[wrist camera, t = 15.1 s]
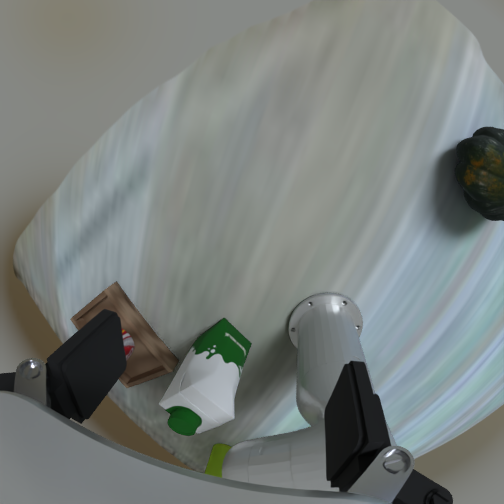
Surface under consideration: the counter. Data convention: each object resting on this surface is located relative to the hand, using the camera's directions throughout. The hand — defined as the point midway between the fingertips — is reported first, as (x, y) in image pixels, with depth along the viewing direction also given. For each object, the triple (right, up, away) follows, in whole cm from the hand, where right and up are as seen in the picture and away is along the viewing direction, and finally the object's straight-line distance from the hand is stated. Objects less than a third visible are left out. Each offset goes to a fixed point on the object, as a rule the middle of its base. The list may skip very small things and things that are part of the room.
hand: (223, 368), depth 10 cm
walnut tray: (-26, -13, +43) cm, 52 cm away
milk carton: (-4, -11, +39) cm, 41 cm away
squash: (+39, +18, +23) cm, 49 cm away
